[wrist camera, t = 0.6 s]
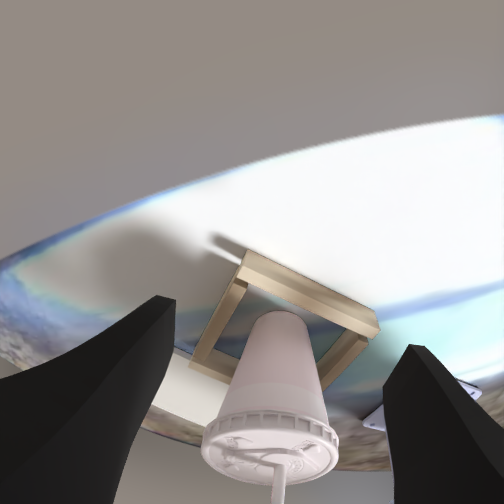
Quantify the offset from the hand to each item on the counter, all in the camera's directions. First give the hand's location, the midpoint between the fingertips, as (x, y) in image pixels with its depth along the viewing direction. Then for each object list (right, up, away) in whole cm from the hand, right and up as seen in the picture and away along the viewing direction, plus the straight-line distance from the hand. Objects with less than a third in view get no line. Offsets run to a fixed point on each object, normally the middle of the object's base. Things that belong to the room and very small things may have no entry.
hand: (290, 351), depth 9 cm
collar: (+1, -2, +12) cm, 12 cm away
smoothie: (+1, -2, +12) cm, 12 cm away
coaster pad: (-6, -9, +15) cm, 19 cm away
